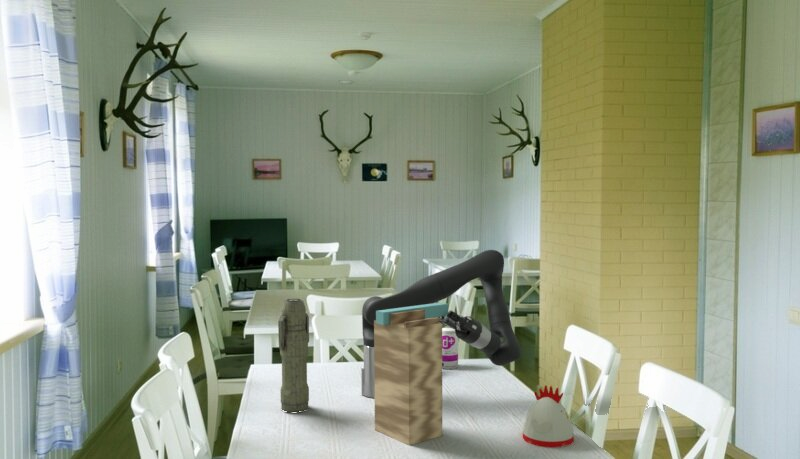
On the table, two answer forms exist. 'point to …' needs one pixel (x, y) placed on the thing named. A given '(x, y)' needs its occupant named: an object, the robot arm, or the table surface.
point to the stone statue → (294, 355)
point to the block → (430, 310)
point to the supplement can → (449, 348)
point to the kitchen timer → (548, 421)
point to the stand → (408, 377)
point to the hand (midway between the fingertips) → (439, 311)
